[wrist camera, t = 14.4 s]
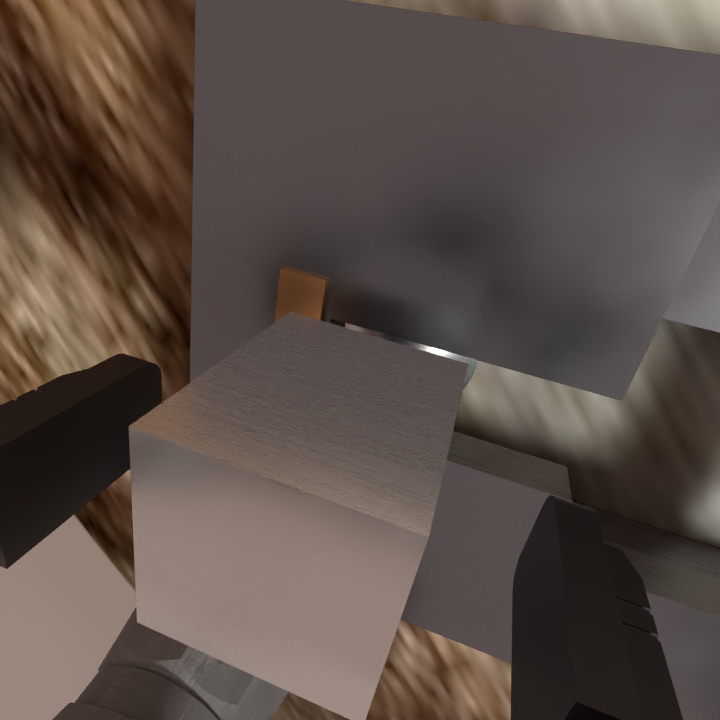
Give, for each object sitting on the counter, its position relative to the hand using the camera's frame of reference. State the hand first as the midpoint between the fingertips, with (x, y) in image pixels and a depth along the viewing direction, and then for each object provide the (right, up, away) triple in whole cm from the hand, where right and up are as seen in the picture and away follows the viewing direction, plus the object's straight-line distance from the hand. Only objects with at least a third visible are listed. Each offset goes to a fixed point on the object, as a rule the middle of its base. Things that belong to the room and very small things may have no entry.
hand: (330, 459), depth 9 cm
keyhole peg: (+2, +3, +7) cm, 8 cm away
